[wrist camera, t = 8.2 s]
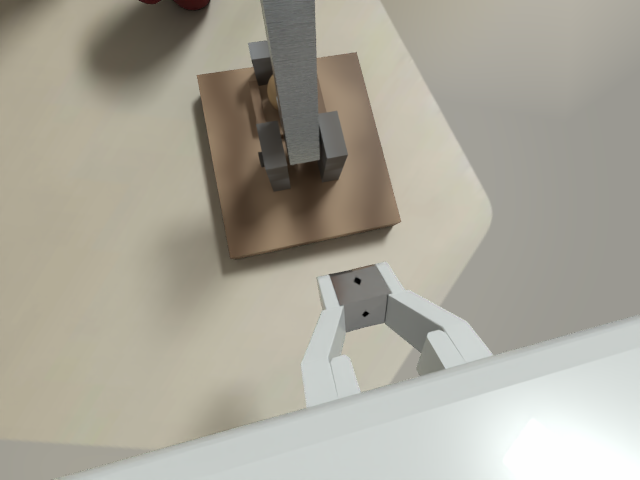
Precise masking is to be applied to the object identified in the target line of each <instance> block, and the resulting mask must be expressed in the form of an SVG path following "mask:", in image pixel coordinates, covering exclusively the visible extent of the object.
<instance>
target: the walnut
mask: <svg viewBox="0 0 640 480" xmlns="http://www.w3.org/2000/svg"><path fill="white" fill-rule="evenodd" d="M267 93H268V98H269V101H270V102H271V104H272V106H273V107H274V108H275V109H276V110H278V105H277V100H276V97H277V93H276V88H275V82H274V76H273V75H272V76H271V78H270V79H269V82H268V86H267Z"/></svg>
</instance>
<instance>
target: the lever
mask: <svg viewBox="0 0 640 480" xmlns="http://www.w3.org/2000/svg"><path fill="white" fill-rule="evenodd" d="M260 2H261V7H262V13H263V19H264V25H265V30H266V36H267V42H268V47H269V53H270V59H271V65H272V70H273V76H274V82H275V88H276V93H277V97H276V100H277V105H278V111H279V117H280V122H281V128H282V133H283V137H284V141H285V145H286V149H287V153H288V157H289V161H290V165H294V164H300V163H305V162H311V161H316V160H320V149H319V119H318V89H317V59H316V29H315V0H260Z"/></svg>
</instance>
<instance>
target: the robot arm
mask: <svg viewBox="0 0 640 480" xmlns="http://www.w3.org/2000/svg"><path fill="white" fill-rule="evenodd" d="M317 284H318V290H319V296H320V301H321V306H322V312H321V314H320V317H319V320H318V322H317V325H316V327H315V330H314V332H313V335H312V337H311V340H310V343H309V345H308V348H307V350H306V353H305V355H304V358H303V360H302V363H301V370H302V377H303V384H304V391H305V398H306V405H307V408H304V409H300V410H297V411H293V412H290V413H286V414H283V415H279V416H276V417H272V418H268V419H265V420H261V421H258V422H254V423H251V424H247V425H244V426H240V427H236V428H233V429H229V430H226V431H222V432H219V433H215V434H211V435H208V436H204V437H201V438H197V439H194V440H190V441H187V442H183V443H179V444H176V445H172V446H169V447H165V448H162V449H158V450H155V451H151V452H147V453H144V454H140V455H137V456H134V457H130V458H126V459H123V460H119V461H115V462H112V463H108V464H105V465H101V466H98V467H94V468H91V469H87V470H83V471H80V472H76V473H73V474H69V475H66V476H62V477H59V478H56V479H52V480H640V315H636V316H632V317H629V318H625V319H621V320H618V321H615V322H611V323H607V324H604V325H600V326H596V327H593V328H590V329H586V330H582V331H579V332H575V333H571V334H568V335H564V336H561V337H557V338H554V339H550V340H546V341H543V342H540V343H536V344H532V345H529V346H525V347H522V348H518V349H514V350H511V351H508V352H504V353H500V354H497V355H493V354H492V353H491V352H490V350H489V349H488V348H487V346H486V345H485V344H484V343H483V341H482V340H481V339H480V338H479V336H478V335H477V334H476V332H475V331H474V330H473V329H472V327H471V326H470V325H469V323H468V322H467V321H465V320H463V319H461V318H460V317H458V316H456V315H454V314H452V313H450V312H448V311H447V310H445V309H443V308H441V307H439V306H438V305H436V304H434V303H432V302H430V301H429V300H427V299H425V298H423V297H421V296H419V295H418V294H416V293H414V292H412V291H410V290H405V289H404V288H403V286H402V285H401V283H400V281H399V280H398V278H397V277H396V275H395V274H394V272H393V270H392V269H391V267H390V266H389V264H388V263H387V262H382V263H378V264H374V265H369V266H364V267H360V268H356V269H352V270H349V271H344V272H339V273H334V274H329V275H325V276H320V277H317ZM381 323H385V324H386V325H387V326H388V327H390V328H391V329H392V330H393V331H395V332H396V333H397V334H398V335H400V336H401V337H402V338H403V339H404V340H406V341H407V342H408V343H409V344H411V345H412V346H413V347H414V348H416V349H417V350H418V351H419V352H420V353H421V356H420V359H419V362H418V365H417V371H418V373H419V375H420V376H418V377H415V378H411V379H408V380H404V381H400V382H397V383H393V384H390V385H386V386H382V387H379V388H375V389H372V390H368V391H365V392H361V391H360V388H359V385H358V382H357V379H356V376H355V373H354V370H353V366H352V363H351V360H350V357H348V356H346V355H341V352H342V348H343V344H344V339H345V335H346V332H350V331H353V330H357V329H360V328H364V327H368V326H373V325H377V324H381Z"/></svg>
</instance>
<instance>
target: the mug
mask: <svg viewBox="0 0 640 480" xmlns="http://www.w3.org/2000/svg"><path fill="white" fill-rule="evenodd" d="M139 1H141V2H143V3H146V4H156V3H158V2H160V1H161V0H139ZM173 1H174V2H175V3H176V4H178V5H179V6H180V7H182V8H184V9H187V10H198V9H201V8H203V7H205V6H206V5H207V4H208V3H209V1H210V0H173Z"/></svg>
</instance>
